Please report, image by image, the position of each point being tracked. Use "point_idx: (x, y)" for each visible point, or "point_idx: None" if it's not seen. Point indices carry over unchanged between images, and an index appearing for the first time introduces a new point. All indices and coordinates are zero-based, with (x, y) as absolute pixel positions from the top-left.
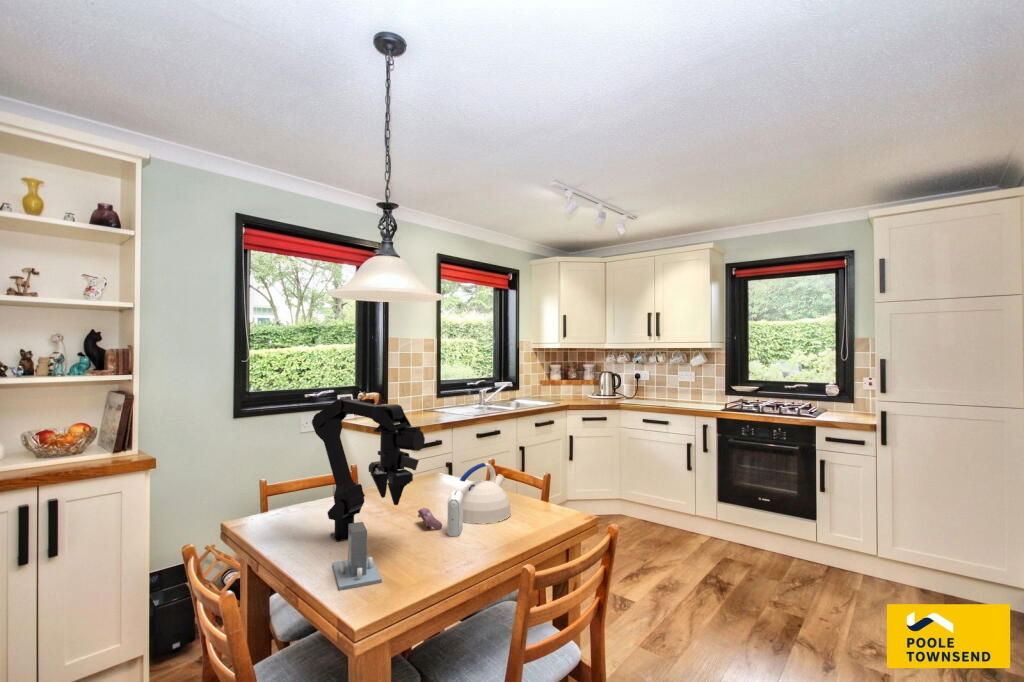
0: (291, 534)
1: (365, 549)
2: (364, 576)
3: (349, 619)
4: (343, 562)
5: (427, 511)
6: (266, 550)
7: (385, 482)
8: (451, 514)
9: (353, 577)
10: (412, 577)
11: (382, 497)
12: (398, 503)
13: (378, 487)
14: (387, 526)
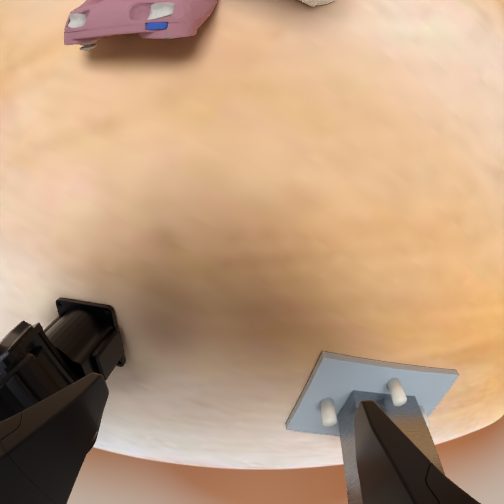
0: None
1: (432, 446)
2: (418, 400)
3: (484, 425)
4: None
5: (134, 9)
6: (121, 449)
7: (33, 454)
8: None
9: None
10: (496, 306)
11: (107, 390)
12: (376, 404)
13: (79, 468)
14: (63, 175)
